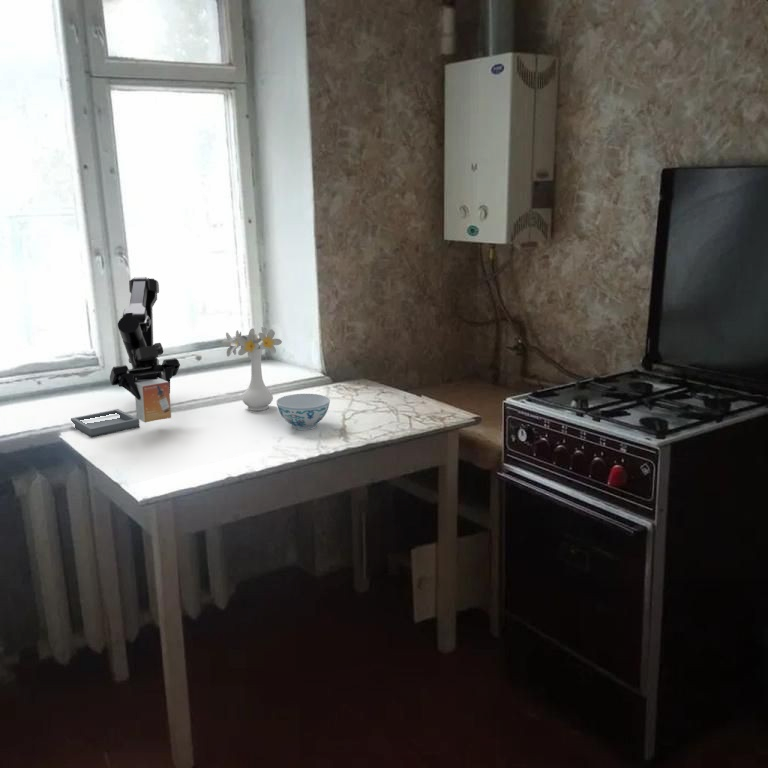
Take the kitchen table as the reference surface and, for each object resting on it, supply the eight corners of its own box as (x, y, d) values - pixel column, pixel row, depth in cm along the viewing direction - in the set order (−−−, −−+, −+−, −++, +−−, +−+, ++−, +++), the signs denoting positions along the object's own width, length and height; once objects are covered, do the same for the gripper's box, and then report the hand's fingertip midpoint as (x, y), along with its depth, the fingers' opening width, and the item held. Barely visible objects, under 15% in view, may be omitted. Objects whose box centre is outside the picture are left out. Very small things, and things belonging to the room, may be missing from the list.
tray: (118, 417, 239) (117, 409, 239) (139, 427, 229) (138, 419, 229) (71, 426, 230) (70, 418, 230) (91, 437, 220) (90, 429, 220)
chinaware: (303, 416, 240) (303, 390, 238) (341, 425, 230) (340, 399, 228) (266, 427, 228) (265, 401, 226) (304, 438, 219) (303, 410, 217)
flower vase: (234, 401, 255) (230, 323, 249) (290, 404, 252) (287, 325, 246) (219, 413, 243) (214, 331, 237) (277, 416, 240) (274, 333, 233)
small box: (144, 423, 221) (141, 386, 219) (136, 418, 226) (133, 382, 223) (171, 417, 226) (169, 381, 224) (163, 413, 230) (160, 377, 228)
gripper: (109, 338, 218) (126, 386, 212) (175, 330, 228) (193, 375, 222) (102, 361, 226) (119, 408, 220) (166, 352, 236) (184, 396, 231)
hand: (154, 396), depth 223 cm, fingers closed on small box, 8 cm apart
